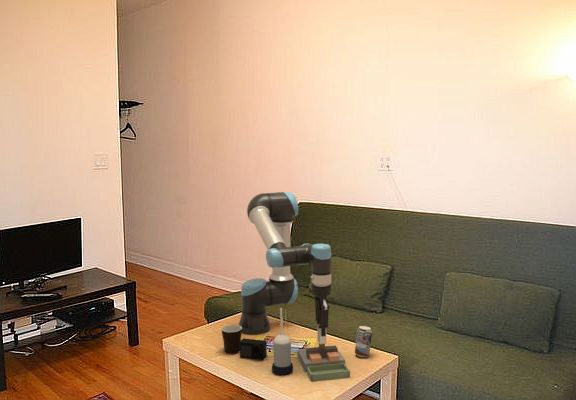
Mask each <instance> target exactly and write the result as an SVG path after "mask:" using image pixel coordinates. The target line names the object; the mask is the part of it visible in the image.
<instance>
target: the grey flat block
mask: <svg viewBox="0 0 576 400" xmlns="http://www.w3.org/2000/svg"><path fill="white" fill-rule="evenodd" d="M296 351H297V352H296V353H297V356H296V357H297V359H298V361H299V363H300V365H301V367H302V369H303V371H304V373H306V374H307V367H309V366H319V365H329V364H339V363H345V364H346V359H345V358H344V356H343V355H342V353H341V352H340V351H339V350H338V355H339V361H332V362H329V360H328V359H327V357H322V363H313V364H312V363H311V362H310V360H309V358H308V357H307V356H306V348H297V350H296Z"/></svg>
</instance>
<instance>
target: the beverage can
mask: <svg viewBox="0 0 576 400" xmlns="http://www.w3.org/2000/svg"><path fill="white" fill-rule="evenodd" d="M372 337H373V331H372V328H371V327H369V326H365V325H359V326H358V327H357V330H356V338H355V347H354V348H355V349H354V353H355V354H356V356H358V357H360V358H367V357H369V355H370V353H371V344H372Z"/></svg>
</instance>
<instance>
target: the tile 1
mask: <svg viewBox="0 0 576 400" xmlns="http://www.w3.org/2000/svg"><path fill="white" fill-rule="evenodd" d="M309 360H310V362H311V363H312V364H313V363H322V357H321V356H320V354H309Z"/></svg>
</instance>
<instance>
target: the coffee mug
mask: <svg viewBox="0 0 576 400" xmlns="http://www.w3.org/2000/svg"><path fill="white" fill-rule="evenodd" d="M221 334H222V336H221V337H222V343H223V349H224V353H225V354H227V355H235V354H240V341H241V340H242V334H243V333H242V327H241V326H239V324H228V325H224V326H222V327H221Z"/></svg>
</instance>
